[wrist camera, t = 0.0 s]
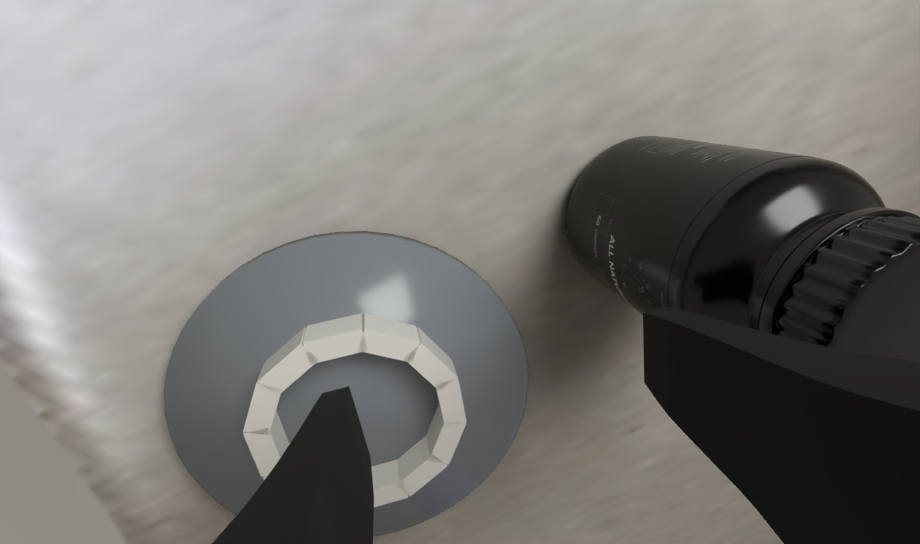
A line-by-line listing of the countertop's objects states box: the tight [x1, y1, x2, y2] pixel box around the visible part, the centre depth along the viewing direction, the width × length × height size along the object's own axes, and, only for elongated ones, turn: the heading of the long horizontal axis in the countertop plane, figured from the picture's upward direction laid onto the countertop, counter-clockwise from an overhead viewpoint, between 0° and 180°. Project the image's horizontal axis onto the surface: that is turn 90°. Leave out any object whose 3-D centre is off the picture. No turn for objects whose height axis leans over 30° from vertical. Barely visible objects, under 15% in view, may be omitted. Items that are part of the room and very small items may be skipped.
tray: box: [164, 231, 528, 536], centre depth 21 cm, size 16×16×2 cm
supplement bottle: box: [566, 136, 920, 362], centre depth 16 cm, size 7×7×12 cm
